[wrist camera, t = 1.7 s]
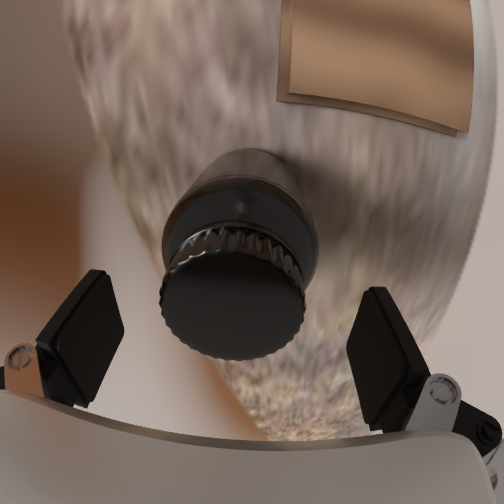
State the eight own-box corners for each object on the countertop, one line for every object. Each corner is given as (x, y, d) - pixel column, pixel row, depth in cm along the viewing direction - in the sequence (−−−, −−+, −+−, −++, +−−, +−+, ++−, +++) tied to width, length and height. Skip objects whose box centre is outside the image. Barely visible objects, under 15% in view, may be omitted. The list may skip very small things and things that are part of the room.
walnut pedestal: (284, -59, 10) (287, -79, 7) (450, -11, 10) (471, -18, 7) (276, 100, 16) (279, 100, 14) (448, 134, 16) (472, 142, 13)
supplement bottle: (316, 207, 20) (369, 333, 9) (237, 256, 22) (219, 395, 11) (259, 125, 17) (257, 164, 7) (178, 184, 19) (92, 290, 9)
